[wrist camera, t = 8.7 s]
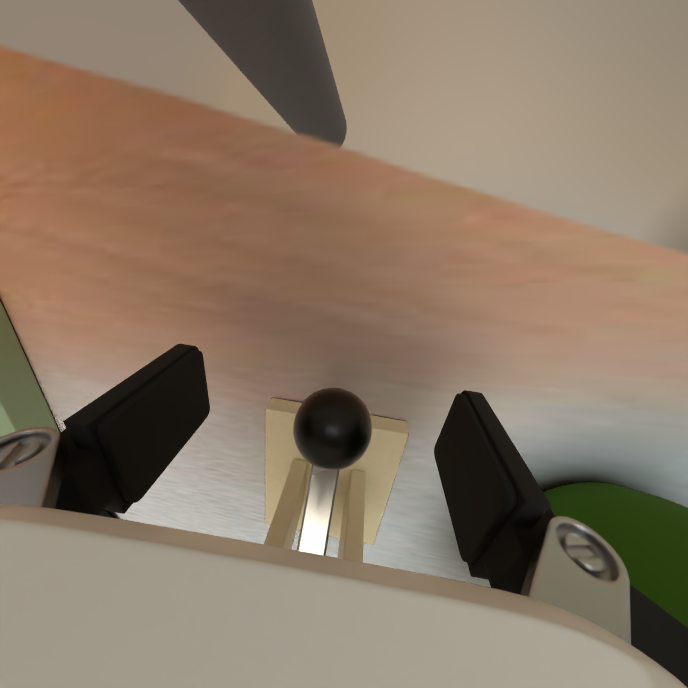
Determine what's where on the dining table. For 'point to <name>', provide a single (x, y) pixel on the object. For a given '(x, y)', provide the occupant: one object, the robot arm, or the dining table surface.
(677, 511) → the vase
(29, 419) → the switch box
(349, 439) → the switch lever
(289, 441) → the switch bracket
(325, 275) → the dining table surface
